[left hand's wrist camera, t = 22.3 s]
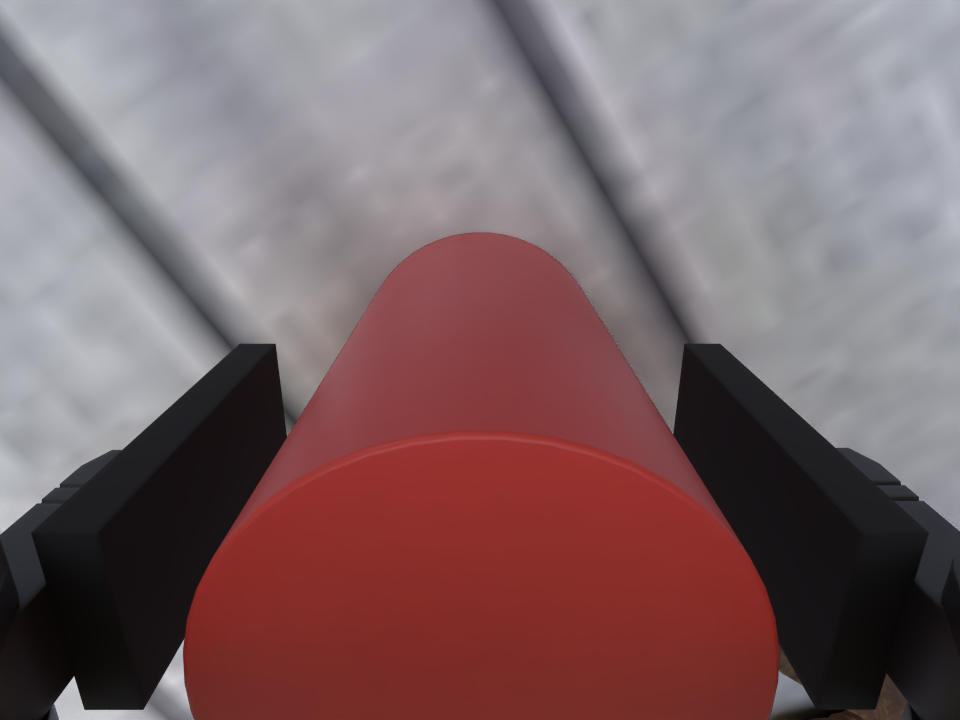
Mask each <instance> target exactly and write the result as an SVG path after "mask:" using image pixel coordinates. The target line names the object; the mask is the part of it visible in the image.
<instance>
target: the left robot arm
mask: <svg viewBox="0 0 960 720" xmlns="http://www.w3.org/2000/svg"><path fill="white" fill-rule="evenodd" d="M673 435H674V437H675V439H676V440H677V442H678V443H679V445H680V447H681V448H682V450H683V451H684V453H685V455H686V456H687V458H688V459H689V461H690V462H691V464H692V466H693V467H694V469H695V470H696V472H697V474H698V475H699V477H700V478H701V480H702V482H703V483H704V485H705V486H706V488H707V490H708V491H709V493H710V494H711V496H712V498H713V499H714V501H715V502H716V504H717V506H718V507H719V509H720V510H721V512H722V514H723V515H724V517H725V518H726V520H727V521H728V523H729V525H730V526H731V528H732V529H733V531H734V533H735V534H736V536H737V537H738V539H739V541H740V542H741V544H742V545H743V547H744V549H745V550H746V552H747V553H748V555H749V557H750V558H751V560H752V562H753V564H754V566H755V568H756V570H757V572H758V574H759V576H760V577H761V579H762V581H763V583H764V585H765V587H766V590H767V593H768V596H769V600H770V603H771V606H772V609H773V612H774V615H775V620H776V627H777V635H778V643H779V645H780V647H781V649H782V650H783V652H784V654H785V656H786V657H787V659H788V661H789V663H790V664H791V666H792V668H793V669H794V671H795V673H796V675H797V676H798V678H799V680H800V682H801V683H802V685H803V687H804V689H805V690H806V692H807V694H808V695H809V697H810V699H811V701H812V702H813V704H814V706H815V708H816V709H817V710H875V709H876V706H877V703H878V699H879V696H880V693H881V690H882V686H883V683H884V680H885V676H886V673H887V675H888V676H889V677H890V679H891V680H892V681H893V683H894V684H895V685H896V687H897V688H898V689H899V691H900V692H901V693H902V695H903V696H904V697H905V699H906V700H907V702H906V705H905V708H904V712H903V715H902V718H901V720H960V531H958V530H957V529H956V528H955V527H954V526H952V525H951V524H950V523H949V522H948V521H947V520H945V519H944V518H943V517H942V516H941V515H939V514H938V513H937V512H936V511H935V510H933V509H932V508H931V507H930V506H929V505H928V504H926V503H925V502H924V501H919V497H918V496H917V495H916V494H915V493H913V492H912V491H911V490H910V489H909V488H907V487H906V486H905V485H901V484H900V483H901V482H900V481H899V480H898V479H897V478H896V477H894V476H893V475H892V474H891V473H890V472H888V471H887V470H886V469H885V468H884V467H883V466H881V465H880V464H879V463H877V462H875V461H873V460H871V459H869V458H867V457H865V456H863V455H861V454H859V453H857V452H855V451H853V450H851V449H849V448H835V447H834V446H833V445H831V444H830V443H829V442H828V441H827V440H826V439H825V438H824V437H823V436H822V435H820V434H819V433H818V432H817V431H816V430H815V429H814V428H813V427H812V426H810V425H809V424H808V423H807V422H806V421H805V420H804V419H803V418H802V417H800V416H799V415H798V414H797V413H796V412H795V411H794V410H793V409H792V408H791V407H789V406H788V405H787V404H786V403H785V402H784V401H783V400H782V399H781V398H779V397H778V396H777V395H776V394H775V393H774V392H773V391H772V390H771V389H770V388H768V387H767V386H766V385H765V384H764V383H763V382H762V381H761V380H760V379H758V378H757V377H756V376H755V375H754V374H753V373H752V372H751V371H750V370H749V369H747V368H746V367H745V366H744V365H743V364H742V363H741V362H740V361H739V360H737V359H736V358H735V357H734V356H733V355H732V354H731V353H730V352H729V351H727V350H726V349H725V348H724V347H723V346H722V345H721V344H684V352H683V360H682V368H681V377H680V385H679V393H678V401H677V409H676V417H675V426H674V434H673ZM286 438H287V434H286V426H285V418H284V409H283V401H282V393H281V385H280V377H279V369H278V360H277V352H276V344H239V345H238V346H237V347H236V348H235V349H234V350H232V351H231V352H230V353H229V354H228V355H227V356H226V357H225V358H224V359H223V360H221V361H220V362H219V363H218V364H217V365H216V366H215V367H214V368H213V369H211V370H210V371H209V372H208V373H207V374H206V375H205V376H204V377H203V378H202V379H200V380H199V381H198V382H197V383H196V384H195V385H194V386H193V387H192V388H190V389H189V390H188V391H187V392H186V393H185V394H184V395H183V396H182V397H181V398H179V399H178V400H177V401H176V402H175V403H174V404H173V405H172V406H171V407H169V408H168V409H167V410H166V411H165V412H164V413H163V414H162V415H161V416H159V417H158V418H157V419H156V420H155V421H154V422H153V423H152V424H151V425H150V426H148V427H147V428H146V429H145V430H144V431H143V432H142V433H141V434H140V435H138V436H137V437H136V438H135V439H134V440H133V441H132V442H131V443H130V444H129V445H127V446H126V447H125V448H124V449H123V450H111V451H109V452H108V453H106V454H104V455H102V456H100V457H98V458H96V459H94V460H92V461H90V462H88V463H86V464H84V465H82V466H81V467H80V468H78V469H77V470H76V471H75V472H74V473H72V474H71V475H70V476H69V477H68V478H67V479H65V480H64V481H63V482H62V483H61V484H60V488H55V489H54V490H53V491H51V492H50V493H49V494H48V495H47V496H45V497H44V498H43V499H42V503H41V504H36V505H35V506H34V507H33V508H31V509H30V510H29V511H28V512H27V513H25V514H24V515H23V516H22V517H21V518H20V519H18V520H17V521H16V522H15V523H14V524H13V525H11V526H10V527H9V528H8V529H7V530H6V531H4V532H3V533H2V534H1V535H0V720H59V718H58V715H57V712H56V708H55V705H54V702H55V701H56V700H57V698H58V697H59V696H60V694H61V693H62V692H63V690H64V689H65V687H66V686H67V685H68V683H69V682H70V681H71V679H72V678H73V677H74V676H75V680H76V683H77V686H78V690H79V693H80V696H81V700H82V703H83V706H84V709H85V710H143V709H144V708H145V706H146V704H147V702H148V701H149V699H150V697H151V695H152V694H153V692H154V690H155V688H156V687H157V685H158V683H159V682H160V680H161V678H162V676H163V675H164V673H165V671H166V669H167V668H168V666H169V664H170V663H171V661H172V659H173V657H174V656H175V654H176V652H177V650H178V649H179V647H180V645H181V643H182V642H183V640H184V638H185V631H186V624H187V618H188V614H189V611H190V608H191V605H192V601H193V598H194V595H195V592H196V589H197V587H198V585H199V583H200V581H201V579H202V577H203V575H204V573H205V571H206V569H207V567H208V565H209V563H210V561H211V559H212V558H213V556H214V554H215V553H216V551H217V550H218V548H219V546H220V545H221V543H222V542H223V540H224V538H225V537H226V535H227V533H228V532H229V530H230V529H231V527H232V525H233V524H234V522H235V521H236V519H237V517H238V516H239V514H240V513H241V511H242V509H243V508H244V506H245V504H246V503H247V501H248V500H249V498H250V496H251V495H252V493H253V492H254V490H255V488H256V487H257V485H258V484H259V482H260V480H261V479H262V477H263V475H264V474H265V472H266V471H267V469H268V467H269V466H270V464H271V463H272V461H273V459H274V458H275V456H276V455H277V453H278V451H279V450H280V448H281V447H282V445H283V443H284V442H285V440H286Z"/></svg>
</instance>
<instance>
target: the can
mask: <svg viewBox="0 0 960 720" xmlns="http://www.w3.org/2000/svg"><path fill="white" fill-rule="evenodd" d="M183 661H184V680H185V687H186V691H187V696H188V700H189V705H190V709H191V713H192V715H193V718H194V720H768V719H769V716H770V714H771V711H772V707H773V702H774V698H775V693H776V689H777V684H778V671H779V643H778V635H777V627H776V620H775V615H774V612H773V609H772V606H771V603H770V600H769V596H768V593H767V590H766V587H765V585H764V583H763V581H762V579H761V577H760V576H759V574H758V572H757V570H756V568H755V566H754V564H753V562H752V560H751V558H750V557H749V555H748V553H747V552H746V550H745V549H744V547H743V545H742V544H741V542H740V541H739V539H738V537H737V536H736V534H735V533H734V531H733V529H732V528H731V526H730V525H729V523H728V521H727V520H726V518H725V517H724V515H723V514H722V512H721V510H720V509H719V507H718V506H717V504H716V502H715V501H714V499H713V498H712V496H711V494H710V493H709V491H708V490H707V488H706V486H705V485H704V483H703V482H702V480H701V478H700V477H699V475H698V474H697V472H696V470H695V469H694V467H693V466H692V464H691V462H690V461H689V459H688V458H687V456H686V455H685V453H684V451H683V450H682V448H681V447H680V445H679V443H678V442H677V440H676V439H675V437H674V435H673V434H672V432H671V431H670V429H669V427H668V426H667V424H666V423H665V421H664V419H663V418H662V416H661V415H660V413H659V411H658V410H657V408H656V407H655V405H654V404H653V402H652V400H651V399H650V397H649V396H648V394H647V392H646V391H645V389H644V388H643V386H642V384H641V383H640V381H639V380H638V378H637V376H636V375H635V373H634V372H633V370H632V368H631V367H630V365H629V364H628V362H627V360H626V359H625V357H624V356H623V354H622V352H621V351H620V349H619V348H618V346H617V345H616V343H615V341H614V340H613V338H612V337H611V335H610V333H609V332H608V330H607V329H606V327H605V325H604V324H603V322H602V321H601V319H600V317H599V316H598V314H597V313H596V311H595V309H594V308H593V306H592V305H591V303H590V301H589V300H588V298H587V297H586V295H585V293H584V292H583V290H582V289H581V287H580V286H579V284H578V283H577V281H576V280H575V279H574V277H573V276H572V275H571V273H570V272H569V271H568V270H567V269H566V268H565V267H564V266H563V265H562V264H561V263H560V262H559V261H557V260H556V259H555V258H553V257H552V256H551V255H550V254H548V253H547V252H545V251H543V250H542V249H540V248H538V247H537V246H535V245H533V244H530V243H528V242H525V241H523V240H521V239H517V238H514V237H510V236H506V235H501V234H493V233H468V234H460V235H455V236H451V237H447V238H444V239H440V240H438V241H436V242H433V243H431V244H428V245H426V246H424V247H423V248H421V249H419V250H418V251H416V252H414V253H413V254H411V255H410V256H409V257H407V258H406V259H405V260H404V261H402V262H401V263H400V264H399V265H398V266H397V267H396V268H395V269H394V270H393V271H392V272H391V273H390V275H389V276H388V277H387V279H386V280H385V281H384V283H383V284H382V286H381V287H380V289H379V290H378V292H377V293H376V295H375V297H374V298H373V300H372V302H371V303H370V305H369V306H368V308H367V310H366V311H365V313H364V314H363V316H362V318H361V319H360V321H359V322H358V324H357V326H356V327H355V329H354V331H353V332H352V334H351V335H350V337H349V339H348V340H347V342H346V343H345V345H344V347H343V348H342V350H341V351H340V353H339V355H338V356H337V358H336V360H335V361H334V363H333V364H332V366H331V368H330V369H329V371H328V372H327V374H326V376H325V377H324V379H323V380H322V382H321V384H320V385H319V387H318V389H317V390H316V392H315V393H314V395H313V397H312V398H311V400H310V401H309V403H308V405H307V406H306V408H305V409H304V411H303V413H302V414H301V416H300V418H299V419H298V421H297V422H296V424H295V426H294V427H293V429H292V430H291V432H290V434H289V435H288V437H287V438H286V440H285V442H284V443H283V445H282V447H281V448H280V450H279V451H278V453H277V455H276V456H275V458H274V459H273V461H272V463H271V464H270V466H269V467H268V469H267V471H266V472H265V474H264V475H263V477H262V479H261V480H260V482H259V484H258V485H257V487H256V488H255V490H254V492H253V493H252V495H251V496H250V498H249V500H248V501H247V503H246V504H245V506H244V508H243V509H242V511H241V513H240V514H239V516H238V517H237V519H236V521H235V522H234V524H233V525H232V527H231V529H230V530H229V532H228V533H227V535H226V537H225V538H224V540H223V542H222V543H221V545H220V546H219V548H218V550H217V551H216V553H215V554H214V556H213V558H212V559H211V561H210V563H209V565H208V567H207V569H206V571H205V573H204V575H203V577H202V579H201V581H200V583H199V585H198V587H197V589H196V592H195V595H194V598H193V601H192V605H191V608H190V611H189V614H188V618H187V624H186V631H185V639H184V647H183Z"/></svg>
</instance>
